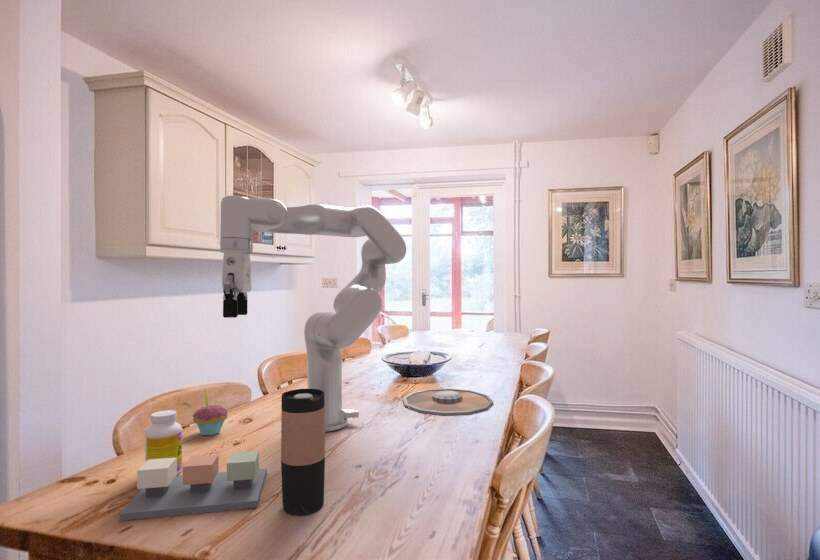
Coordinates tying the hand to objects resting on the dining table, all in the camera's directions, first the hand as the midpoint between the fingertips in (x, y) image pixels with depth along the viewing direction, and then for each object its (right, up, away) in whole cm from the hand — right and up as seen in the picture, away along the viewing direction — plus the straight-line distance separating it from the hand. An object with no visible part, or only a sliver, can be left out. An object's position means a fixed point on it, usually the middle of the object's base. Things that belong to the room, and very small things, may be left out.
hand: (235, 316), depth 109 cm
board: (+4, -32, -26) cm, 41 cm away
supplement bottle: (-8, -32, -17) cm, 37 cm away
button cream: (-4, -28, -28) cm, 40 cm away
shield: (+55, -32, +38) cm, 75 cm away
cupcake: (-10, -32, +9) cm, 35 cm away
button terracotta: (+4, -28, -26) cm, 39 cm away
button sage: (+11, -28, -25) cm, 39 cm away
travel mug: (+24, -32, -30) cm, 50 cm away
